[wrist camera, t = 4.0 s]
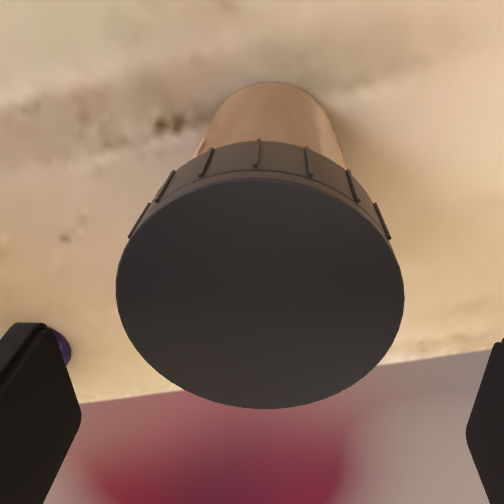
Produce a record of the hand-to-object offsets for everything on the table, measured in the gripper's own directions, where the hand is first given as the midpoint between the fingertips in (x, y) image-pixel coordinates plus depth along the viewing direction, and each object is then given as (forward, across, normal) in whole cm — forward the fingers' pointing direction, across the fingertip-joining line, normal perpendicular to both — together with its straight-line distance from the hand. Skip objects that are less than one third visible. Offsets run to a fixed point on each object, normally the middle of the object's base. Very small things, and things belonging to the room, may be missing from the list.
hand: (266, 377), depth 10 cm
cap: (+3, 0, 0) cm, 3 cm away
